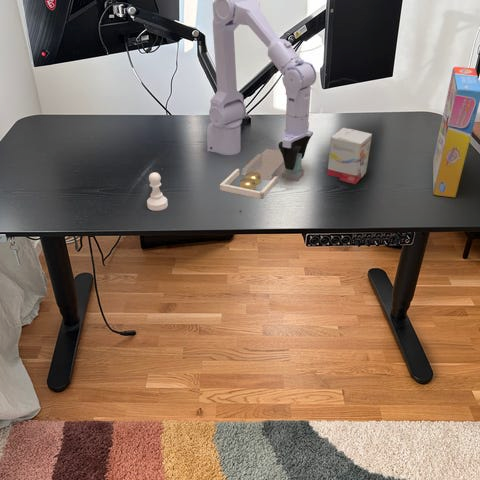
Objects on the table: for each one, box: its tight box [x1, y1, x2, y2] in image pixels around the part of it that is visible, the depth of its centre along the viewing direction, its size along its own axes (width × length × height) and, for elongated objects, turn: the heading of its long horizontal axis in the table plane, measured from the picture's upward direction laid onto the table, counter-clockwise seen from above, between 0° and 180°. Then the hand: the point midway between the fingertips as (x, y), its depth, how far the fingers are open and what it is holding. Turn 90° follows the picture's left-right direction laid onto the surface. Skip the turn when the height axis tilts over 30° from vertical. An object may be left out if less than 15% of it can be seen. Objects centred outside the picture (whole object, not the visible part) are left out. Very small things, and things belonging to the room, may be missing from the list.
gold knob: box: [244, 172, 262, 186], centre depth 136 cm, size 4×4×2 cm
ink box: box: [326, 127, 373, 185], centre depth 139 cm, size 9×9×12 cm
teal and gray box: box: [281, 153, 305, 182], centre depth 138 cm, size 5×4×7 cm
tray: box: [219, 168, 279, 200], centre depth 134 cm, size 12×10×2 cm
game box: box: [432, 66, 480, 198], centre depth 132 cm, size 21×6×27 cm, turn 163°
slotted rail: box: [239, 148, 286, 182], centre depth 145 cm, size 10×19×3 cm, turn 155°
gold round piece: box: [239, 177, 256, 191], centre depth 133 cm, size 4×4×2 cm
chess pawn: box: [146, 171, 169, 212], centre depth 125 cm, size 5×5×9 cm
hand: (294, 163), depth 138 cm, fingers open, 7 cm apart
